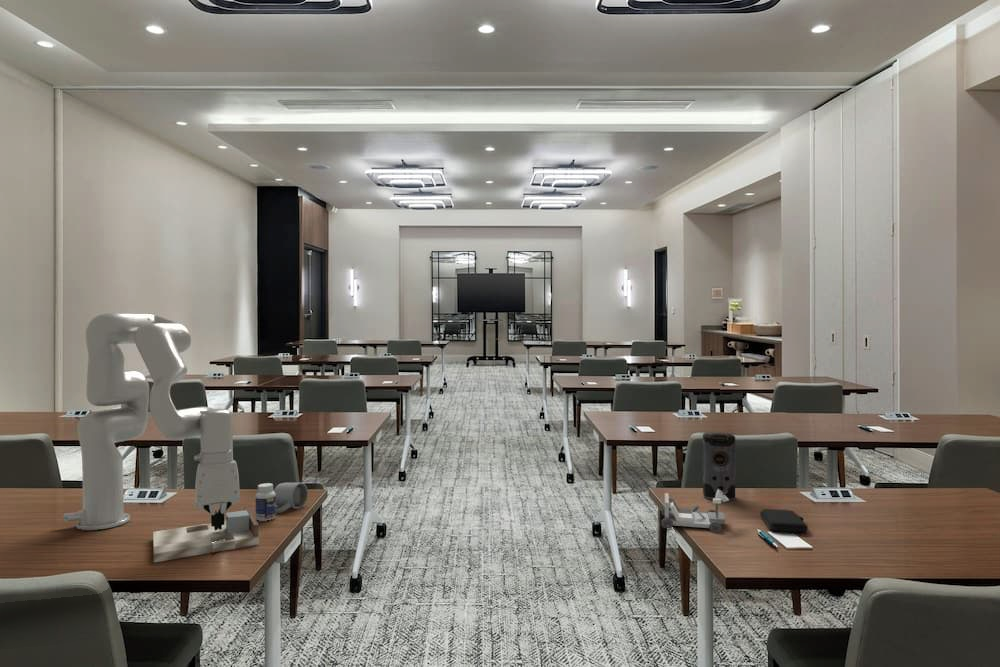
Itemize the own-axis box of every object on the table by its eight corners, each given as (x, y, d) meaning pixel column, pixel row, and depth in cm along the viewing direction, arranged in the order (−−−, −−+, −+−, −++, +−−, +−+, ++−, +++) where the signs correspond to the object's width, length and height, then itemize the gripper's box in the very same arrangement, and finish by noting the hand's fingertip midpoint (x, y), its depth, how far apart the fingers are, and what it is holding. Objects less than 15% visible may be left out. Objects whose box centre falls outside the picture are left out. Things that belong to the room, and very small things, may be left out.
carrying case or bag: (814, 537, 157) (799, 519, 172) (814, 525, 157) (799, 509, 172) (770, 534, 160) (758, 517, 174) (770, 523, 160) (758, 506, 174)
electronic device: (705, 499, 191) (705, 436, 191) (702, 494, 197) (702, 432, 196) (736, 500, 189) (736, 436, 189) (732, 495, 195) (732, 433, 195)
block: (228, 533, 156) (228, 518, 156) (226, 528, 160) (226, 512, 160) (249, 530, 158) (249, 515, 158) (246, 524, 162) (246, 510, 162)
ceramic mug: (286, 502, 190) (286, 478, 190) (308, 504, 187) (308, 480, 187) (263, 512, 180) (262, 487, 180) (286, 515, 177) (285, 489, 177)
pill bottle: (268, 522, 171) (268, 487, 171) (251, 521, 172) (251, 486, 172) (279, 516, 176) (279, 482, 176) (262, 515, 177) (262, 482, 177)
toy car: (727, 486, 171) (732, 497, 160) (727, 520, 171) (732, 534, 160) (661, 482, 176) (661, 492, 165) (661, 516, 176) (661, 529, 165)
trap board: (153, 562, 142) (153, 541, 142) (153, 539, 157) (153, 520, 157) (258, 544, 153) (258, 524, 153) (248, 524, 169) (248, 506, 169)
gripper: (185, 463, 150) (185, 538, 150) (250, 456, 157) (250, 527, 157) (183, 458, 156) (184, 529, 156) (246, 451, 163) (247, 519, 164)
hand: (217, 528), depth 157 cm, fingers closed
